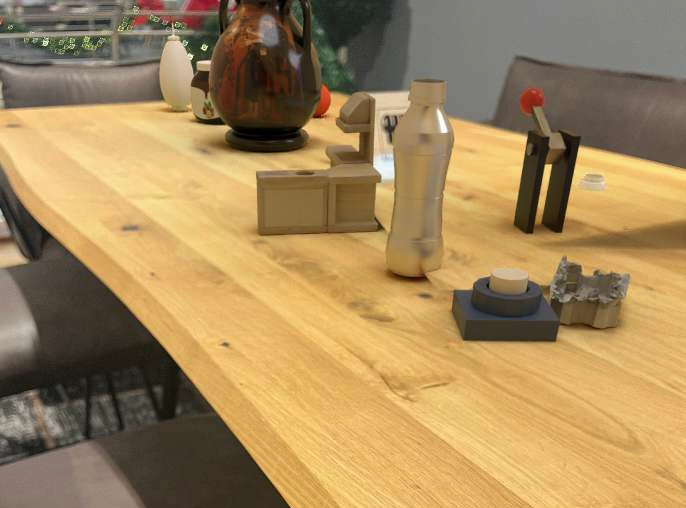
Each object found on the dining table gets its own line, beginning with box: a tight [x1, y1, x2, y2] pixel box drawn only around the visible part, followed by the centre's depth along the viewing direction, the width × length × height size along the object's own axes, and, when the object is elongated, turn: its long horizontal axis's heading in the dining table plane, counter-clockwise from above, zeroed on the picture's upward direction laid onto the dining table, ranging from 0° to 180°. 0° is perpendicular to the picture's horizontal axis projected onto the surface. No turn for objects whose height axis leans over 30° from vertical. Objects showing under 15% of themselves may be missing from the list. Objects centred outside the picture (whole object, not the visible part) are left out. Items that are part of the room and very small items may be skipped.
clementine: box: [312, 83, 332, 118], centre depth 176 cm, size 8×7×7 cm
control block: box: [451, 275, 561, 343], centre depth 76 cm, size 9×8×4 cm
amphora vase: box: [208, 0, 323, 152], centre depth 142 cm, size 22×22×28 cm
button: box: [489, 267, 530, 295], centre depth 74 cm, size 4×4×2 cm
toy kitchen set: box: [255, 91, 383, 236], centre depth 105 cm, size 18×17×15 cm
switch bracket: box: [513, 129, 582, 235], centre depth 98 cm, size 7×7×13 cm
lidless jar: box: [576, 173, 608, 192], centre depth 119 cm, size 5×3×5 cm
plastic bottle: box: [384, 78, 456, 278], centre depth 83 cm, size 6×7×20 cm
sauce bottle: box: [158, 22, 195, 113], centre depth 177 cm, size 8×8×18 cm
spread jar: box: [190, 59, 226, 125], centre depth 168 cm, size 12×11×12 cm
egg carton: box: [549, 255, 631, 329], centre depth 79 cm, size 11×8×4 cm
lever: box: [518, 86, 566, 166], centre depth 97 cm, size 12×3×3 cm, turn 9°
